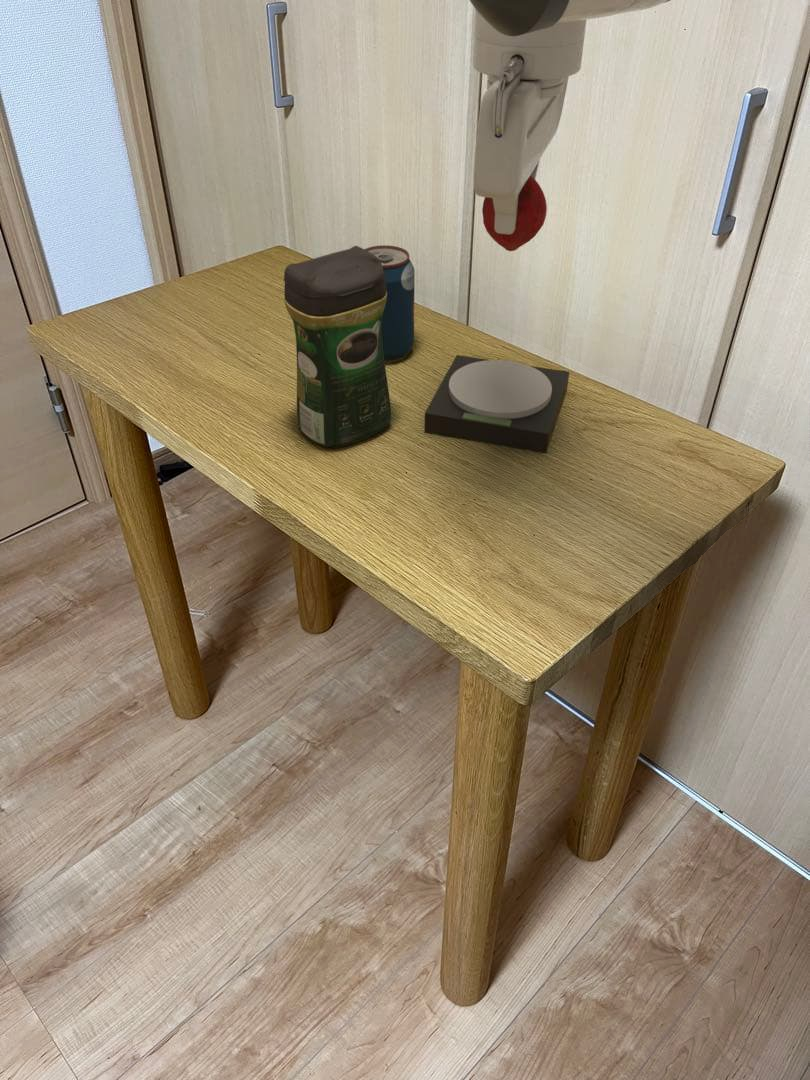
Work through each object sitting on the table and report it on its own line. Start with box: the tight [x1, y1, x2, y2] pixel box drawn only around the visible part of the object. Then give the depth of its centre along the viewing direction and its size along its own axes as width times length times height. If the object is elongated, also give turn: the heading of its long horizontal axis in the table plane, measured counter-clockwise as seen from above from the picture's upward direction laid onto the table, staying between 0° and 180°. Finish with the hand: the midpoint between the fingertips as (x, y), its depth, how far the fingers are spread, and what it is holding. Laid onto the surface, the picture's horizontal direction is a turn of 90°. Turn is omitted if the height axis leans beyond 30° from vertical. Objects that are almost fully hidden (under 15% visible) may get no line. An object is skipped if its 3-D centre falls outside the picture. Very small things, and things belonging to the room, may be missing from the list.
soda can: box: [364, 244, 415, 364], centre depth 99 cm, size 7×7×12 cm
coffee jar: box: [283, 245, 392, 449], centre depth 84 cm, size 10×8×19 cm
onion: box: [481, 176, 548, 252], centre depth 77 cm, size 6×6×8 cm
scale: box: [424, 354, 570, 454], centre depth 92 cm, size 13×13×3 cm
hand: (514, 216), depth 77 cm, fingers closed on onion, 6 cm apart
